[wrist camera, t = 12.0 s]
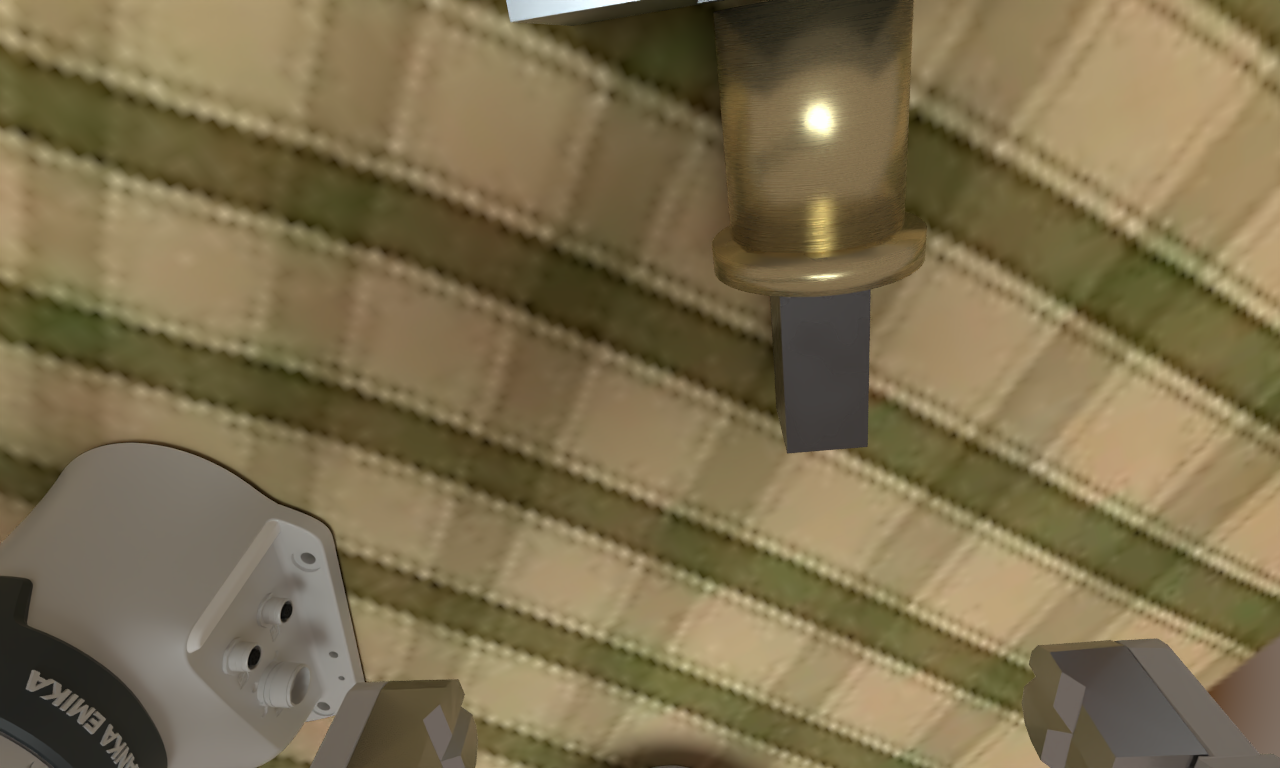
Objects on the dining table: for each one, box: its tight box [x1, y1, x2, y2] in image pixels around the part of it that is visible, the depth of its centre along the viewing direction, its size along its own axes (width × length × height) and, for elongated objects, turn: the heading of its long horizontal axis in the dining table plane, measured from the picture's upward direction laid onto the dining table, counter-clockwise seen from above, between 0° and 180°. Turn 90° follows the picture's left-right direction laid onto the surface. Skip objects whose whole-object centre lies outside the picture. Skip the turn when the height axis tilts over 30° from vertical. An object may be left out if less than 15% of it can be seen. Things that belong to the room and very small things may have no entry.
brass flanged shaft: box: [712, 0, 927, 453], centre depth 23 cm, size 15×7×7 cm, turn 8°
